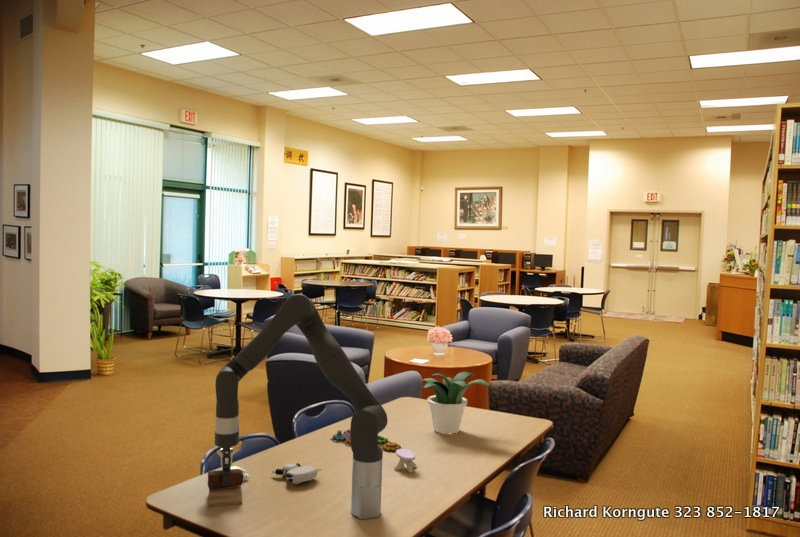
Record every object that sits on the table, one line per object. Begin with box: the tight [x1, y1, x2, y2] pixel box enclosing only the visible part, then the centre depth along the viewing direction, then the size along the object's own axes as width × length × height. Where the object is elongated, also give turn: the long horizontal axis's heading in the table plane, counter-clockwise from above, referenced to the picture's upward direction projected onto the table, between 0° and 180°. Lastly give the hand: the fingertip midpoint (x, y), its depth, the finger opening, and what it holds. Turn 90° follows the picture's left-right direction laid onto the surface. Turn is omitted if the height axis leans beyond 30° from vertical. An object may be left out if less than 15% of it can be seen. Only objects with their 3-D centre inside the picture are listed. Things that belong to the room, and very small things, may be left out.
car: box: [231, 465, 250, 482], centre depth 209 cm, size 12×6×5 cm, turn 132°
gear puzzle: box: [329, 428, 402, 452], centre depth 253 cm, size 31×16×4 cm, turn 55°
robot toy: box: [271, 462, 323, 485], centre depth 213 cm, size 12×4×15 cm
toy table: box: [393, 448, 417, 473], centre depth 226 cm, size 10×9×6 cm
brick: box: [207, 469, 244, 489], centre depth 194 cm, size 11×4×5 cm, turn 112°
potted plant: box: [421, 371, 491, 435], centre depth 273 cm, size 32×35×26 cm
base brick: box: [207, 485, 243, 507], centre depth 194 cm, size 9×10×4 cm
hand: (226, 481), depth 194 cm, fingers closed on brick, 4 cm apart
